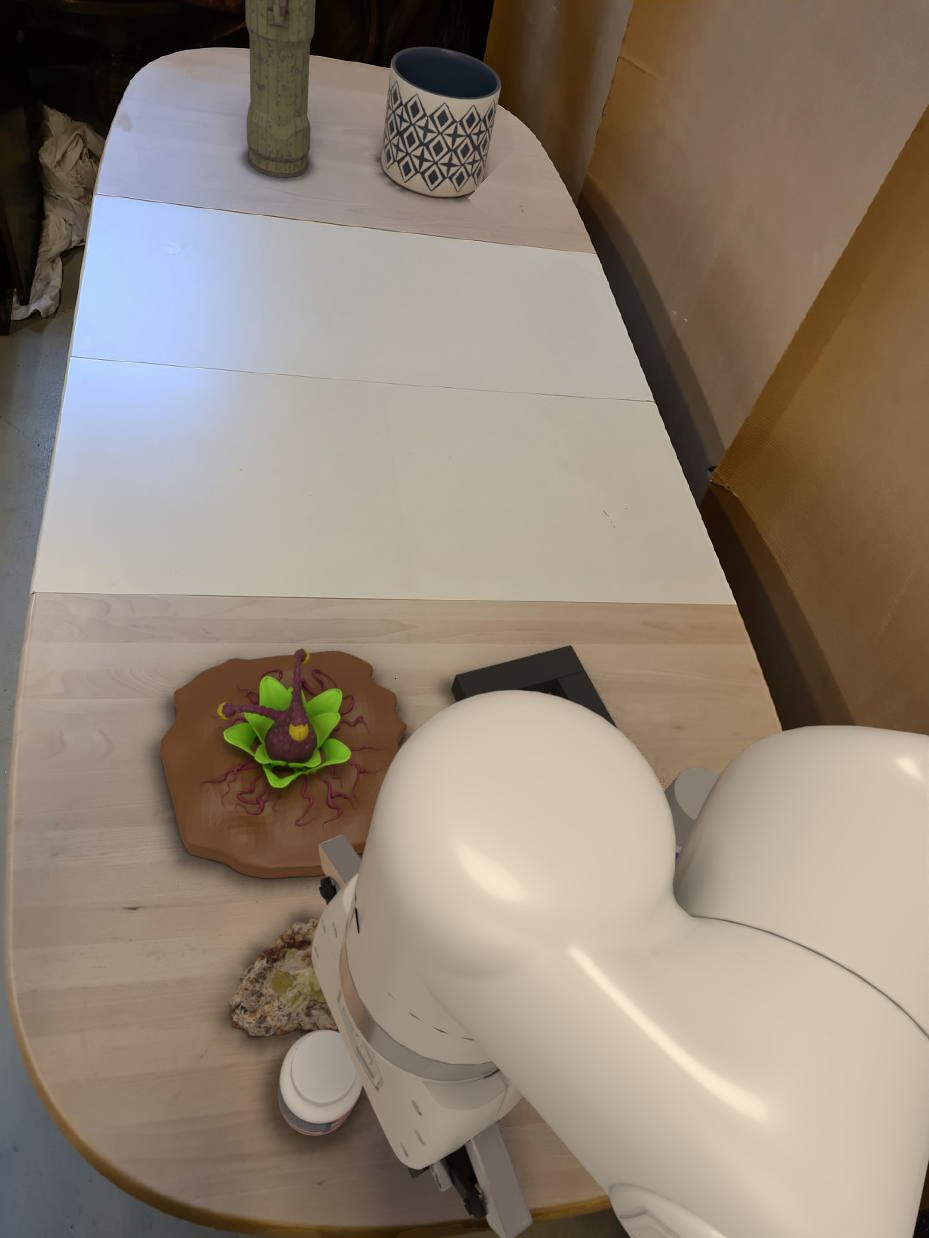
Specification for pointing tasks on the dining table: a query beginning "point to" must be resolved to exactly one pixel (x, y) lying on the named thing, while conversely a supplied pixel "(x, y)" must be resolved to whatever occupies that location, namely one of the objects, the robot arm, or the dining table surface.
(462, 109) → the planter
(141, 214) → the dining table surface
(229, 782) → the plant
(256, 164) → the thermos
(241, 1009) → the mineral rock
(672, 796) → the container
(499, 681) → the square frame
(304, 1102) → the pill bottle
